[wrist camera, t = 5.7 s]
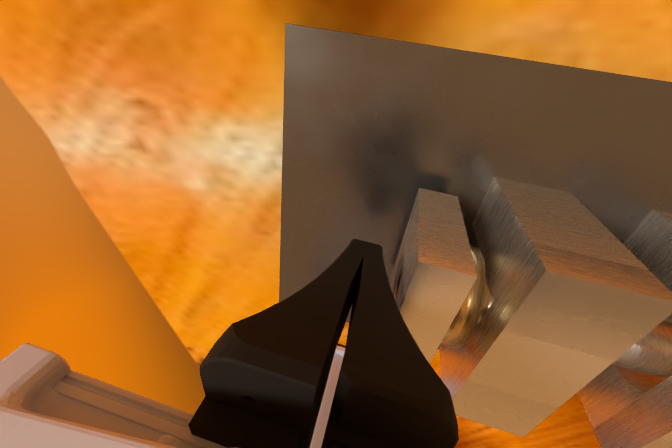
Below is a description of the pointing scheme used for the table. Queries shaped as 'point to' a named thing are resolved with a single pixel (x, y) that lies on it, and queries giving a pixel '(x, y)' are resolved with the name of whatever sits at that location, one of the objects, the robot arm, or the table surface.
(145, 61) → the table surface
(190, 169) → the table surface
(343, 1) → the table surface
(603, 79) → the bearing bracket
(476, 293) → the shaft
